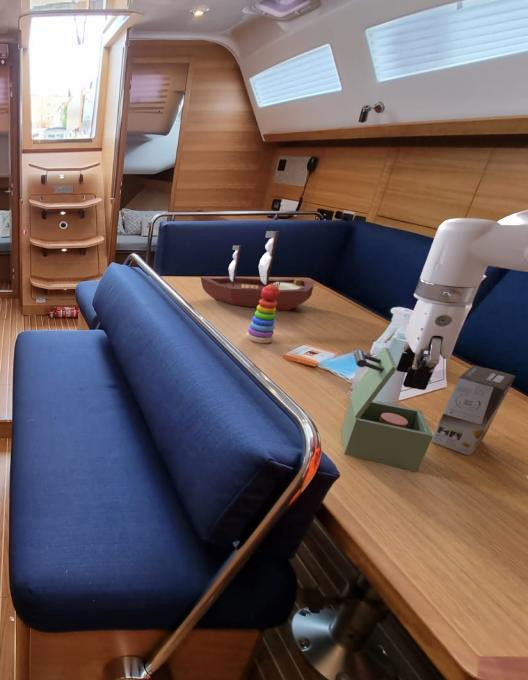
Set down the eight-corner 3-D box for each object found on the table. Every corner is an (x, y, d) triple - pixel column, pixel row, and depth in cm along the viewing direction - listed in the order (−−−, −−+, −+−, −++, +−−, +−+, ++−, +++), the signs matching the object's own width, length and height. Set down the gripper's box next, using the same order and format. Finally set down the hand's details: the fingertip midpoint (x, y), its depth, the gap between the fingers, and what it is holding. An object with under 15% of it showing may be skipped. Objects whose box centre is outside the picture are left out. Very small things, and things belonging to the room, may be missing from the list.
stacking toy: (258, 345, 135) (270, 290, 128) (240, 336, 142) (250, 283, 135) (278, 341, 137) (291, 287, 129) (259, 332, 144) (270, 280, 136)
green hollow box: (407, 444, 89) (421, 410, 86) (416, 472, 82) (433, 436, 78) (340, 429, 95) (351, 396, 91) (344, 454, 88) (356, 419, 84)
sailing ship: (309, 316, 155) (330, 236, 143) (195, 304, 173) (205, 232, 161) (305, 301, 169) (323, 228, 157) (199, 291, 187) (208, 225, 175)
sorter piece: (398, 433, 87) (405, 415, 85) (402, 445, 84) (410, 426, 82) (373, 428, 89) (379, 410, 87) (376, 439, 86) (382, 421, 84)
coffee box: (470, 457, 85) (504, 390, 78) (429, 441, 90) (458, 377, 83) (483, 440, 89) (516, 375, 83) (443, 426, 94) (472, 363, 88)
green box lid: (388, 348, 85) (359, 338, 87) (397, 368, 77) (365, 357, 79) (354, 395, 91) (327, 385, 93) (359, 418, 84) (329, 407, 86)
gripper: (492, 310, 65) (448, 406, 72) (459, 280, 78) (425, 364, 85) (428, 303, 69) (392, 396, 76) (406, 276, 82) (378, 357, 89)
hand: (410, 378), depth 81 cm, fingers open, 6 cm apart
